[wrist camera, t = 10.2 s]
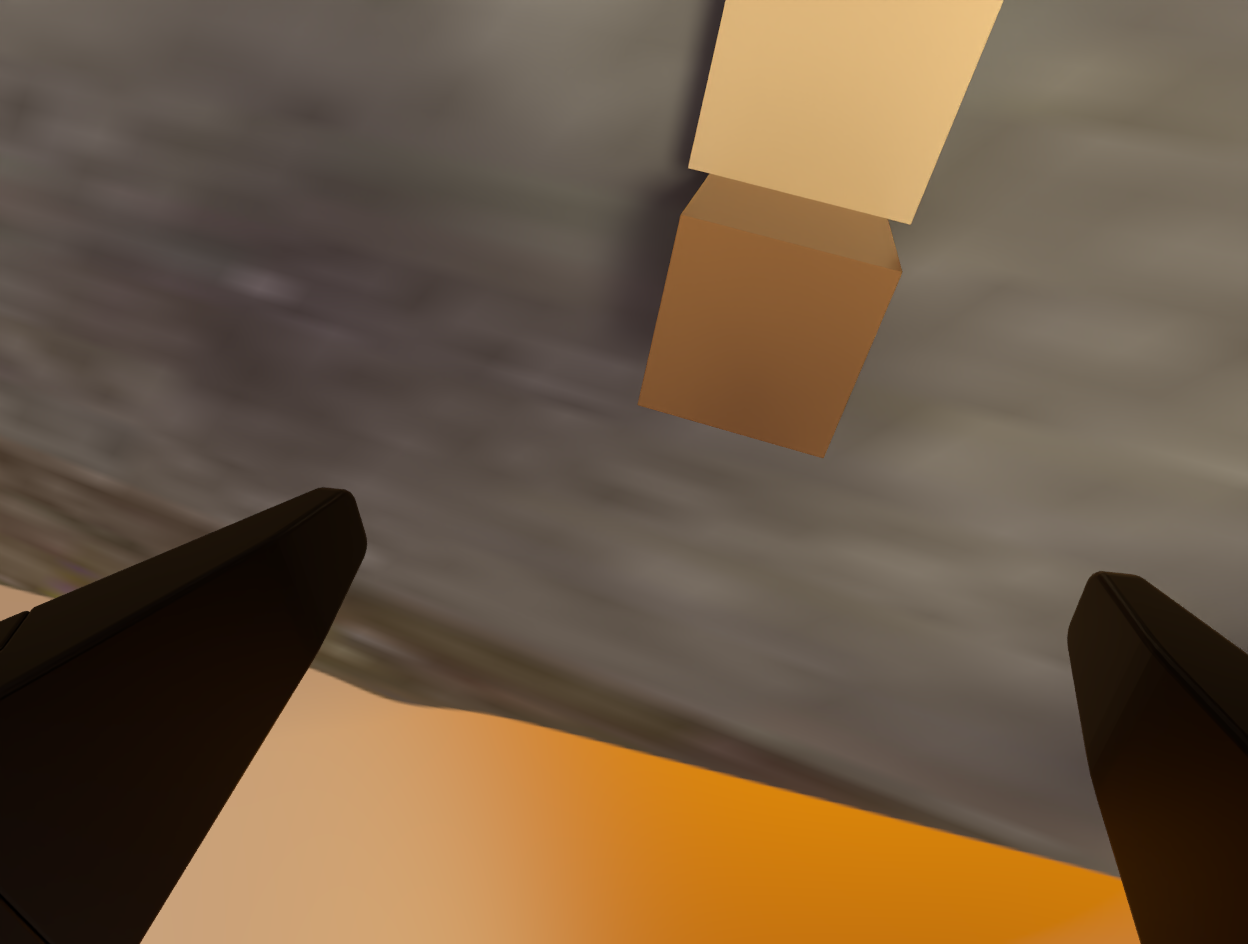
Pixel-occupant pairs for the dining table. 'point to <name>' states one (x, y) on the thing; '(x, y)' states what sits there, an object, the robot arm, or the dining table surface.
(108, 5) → the dining table surface
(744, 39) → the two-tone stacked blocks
